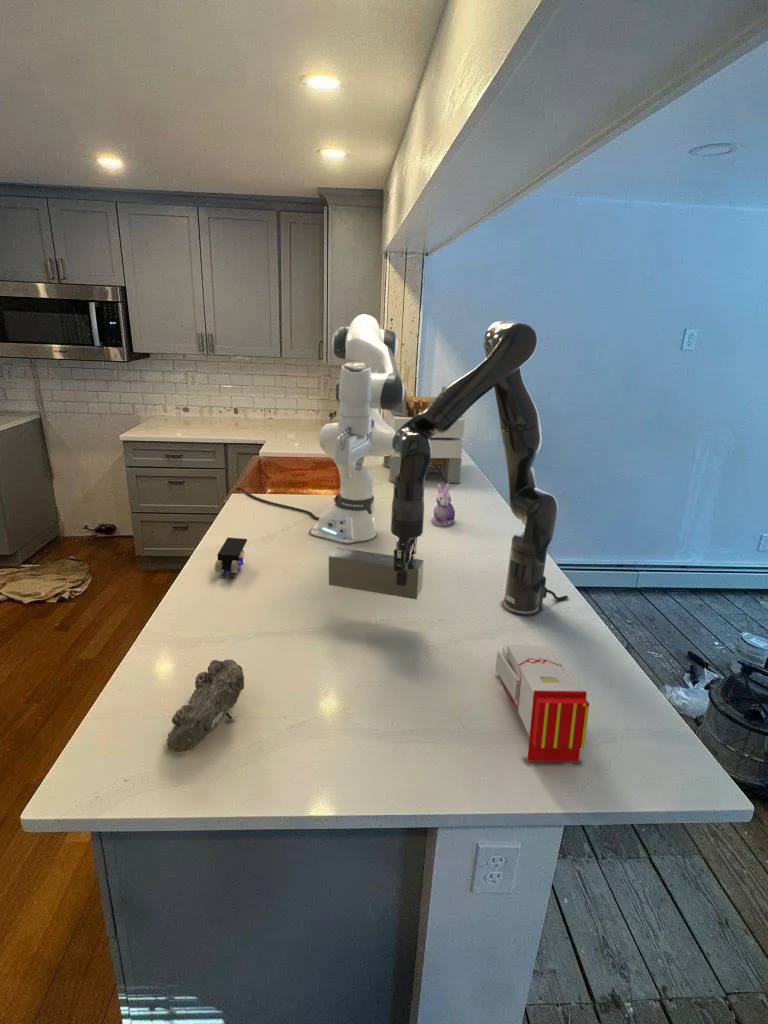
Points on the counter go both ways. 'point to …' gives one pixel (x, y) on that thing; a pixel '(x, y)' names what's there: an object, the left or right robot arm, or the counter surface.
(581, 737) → the toy
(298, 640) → the counter surface
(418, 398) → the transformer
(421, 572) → the bar
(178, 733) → the fossil
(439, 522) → the figurine
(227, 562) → the figurine character
